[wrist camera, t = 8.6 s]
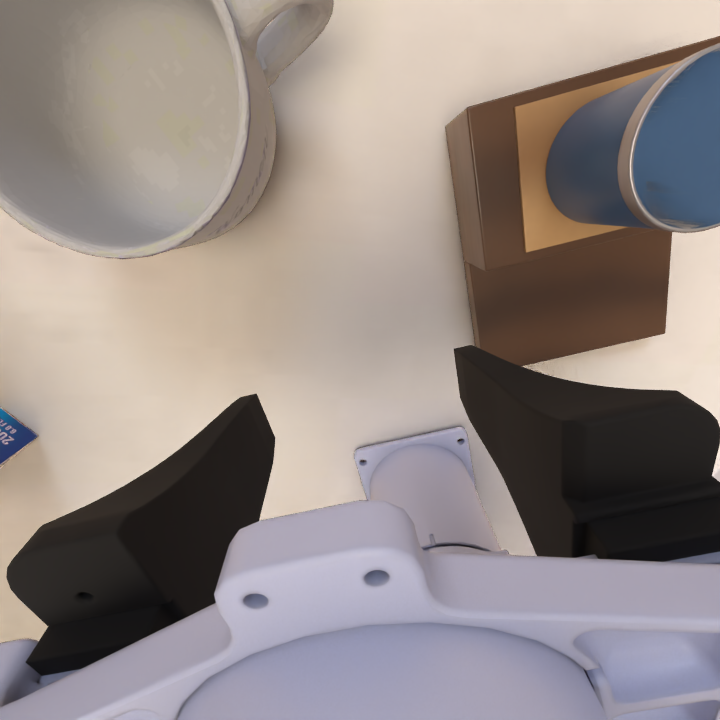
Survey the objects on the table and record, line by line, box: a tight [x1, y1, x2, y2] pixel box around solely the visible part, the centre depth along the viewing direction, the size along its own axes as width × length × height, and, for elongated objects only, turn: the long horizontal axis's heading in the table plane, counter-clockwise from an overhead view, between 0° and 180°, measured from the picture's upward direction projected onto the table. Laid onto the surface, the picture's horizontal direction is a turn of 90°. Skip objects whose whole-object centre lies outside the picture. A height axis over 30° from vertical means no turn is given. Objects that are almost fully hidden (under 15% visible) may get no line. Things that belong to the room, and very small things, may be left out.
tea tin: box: [546, 43, 720, 233], centre depth 14 cm, size 5×5×6 cm
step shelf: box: [445, 36, 720, 366], centre depth 20 cm, size 14×11×4 cm
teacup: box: [0, 0, 334, 259], centre depth 15 cm, size 14×11×8 cm
